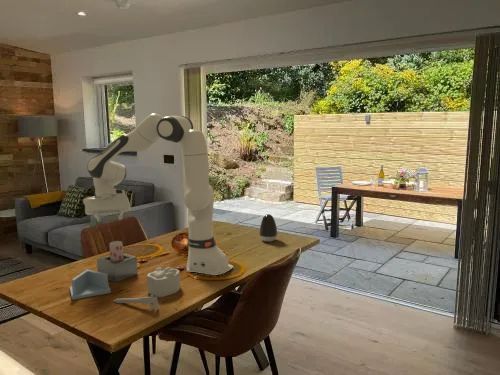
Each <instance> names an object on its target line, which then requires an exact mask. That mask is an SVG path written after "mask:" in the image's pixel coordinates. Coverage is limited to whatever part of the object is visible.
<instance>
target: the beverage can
mask: <svg viewBox="0 0 500 375" xmlns="http://www.w3.org/2000/svg"><path fill="white" fill-rule="evenodd" d="M123 253H124V245H123V241H119V240H115V241H114V240H113V241H111V242H109V255H110V261H114V262H117V261H119V260H122V259H124V257H123Z"/></svg>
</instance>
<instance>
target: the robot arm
mask: <svg viewBox="0 0 500 375" xmlns="http://www.w3.org/2000/svg"><path fill="white" fill-rule="evenodd" d="M160 138H161V139H163V140H166V141H168V142H172V143H180V145H181V147H182V156H183V158H182V159H183V167H184V199H183V201H184V205H185V207H186V209H187V210H189V216H188V221H187V222H188V223H187V224H188V225H187V226H188V237H187V246H188V254H187V255H188V256H187V261H186V265H185V269H186V272H187V273H190V272H198V273H205V274H211V275H218V274H222V273H225V272H227V271H229V270H230V269H232V268H233V269H234V265H232V264H230V263H229V260H228V259H229V258H228V256H227V254H226V253H224V252H223V251H222V249H221V248H219V247H218V246H217V243H218V239H215V238H214V236H213V232H214V231H213V218H214V216H213V215H214V202H215V201H214V200H215V199H214V198H215V196H214V194H215V192H214V189H213V186H212V185H211V184H210V182H209V180H210V163H209V153H208V146H207V141H206V137H205V135H204V132H202V131H201V130H199V129H196V128H195V129H194V124H193V121H192V119H190V118H189V117H186V116H184V115H176V114H175V115H165V116H162V115H161V114H159V113H155V112H154V113H150V114H149V115H147V117H145V118H144V119H143V120H141V122H140V123H139V124H138V125H137V126H136V127H135V128H134V129H133V130H131V131H130V132H128V133H126V134H122V135H120V136H118V137H117V138H115V139H114V140H113V141H112V142H111V143H110V144H109V145H108V146H106V148H104V149H103V150H102V151H101V152H99V153H98V154H97V155H95V156H93V157H92V158H91V159H90V160H89V161H88V163H87V166H86V167H87V168H86V169H87V172H88V174H89V175H90V177H91V178H92V179H93V180H92V181H93V186H94V188H95V190H94V193H95V195H94V196H86V197H85V198H83V199H82V204H83V205H84V213H85V215H87V216H93V217H94V218H95V219H96V221H97V222H98V223H99V222H100V223H101V221H102V217H101V216H99V215H103V214H104V215H105V214H116V213H119V214H118V218H117V219H118V220H119V221H120V220H123V214H124V213H125V212H129V211H130V209H131V204H130V200H129V197H128V196H127V195H126V192H125V190H123V189H120V188H115V186H118V185H120V184H121V183H123V182H124V181H125V179H126V178H127V169H126V166H125V165H124V164H122V163H119V162H116V161H113V160H114V158H116V157H117V156H118V155H119V154H121V153H124V152H138V153H140V152H146V151H148V150H150V149H152V147H153V146H155V144H157V142H158V141H159V139H160ZM233 269H232V270H233Z"/></svg>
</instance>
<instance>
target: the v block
mask: <svg viewBox="0 0 500 375" xmlns="http://www.w3.org/2000/svg"><path fill="white" fill-rule="evenodd" d="M111 290H112V289H111V287H110V286H109V280H108V274H105V273H101V272H98V270H97V271H95V270H91V269H84V271H83V272H81V273H80V274H78V275H77V276H75V277H74V278H72V279H71V285H70V286H69V291H70V296H71V300H72V301H74V300H78V299H84V298H89V297H95V296H100V295H101V296H102V295H105V294H106V295H107V294H111V292H112V291H111Z"/></svg>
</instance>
